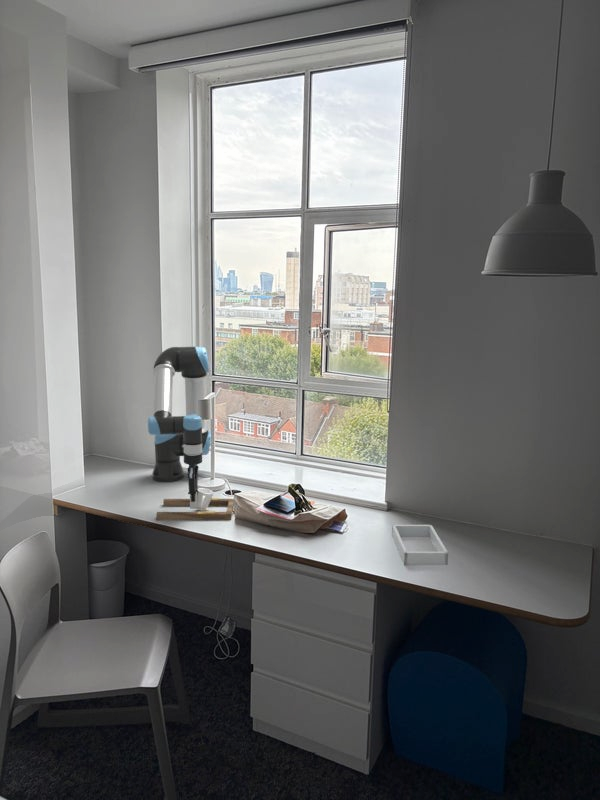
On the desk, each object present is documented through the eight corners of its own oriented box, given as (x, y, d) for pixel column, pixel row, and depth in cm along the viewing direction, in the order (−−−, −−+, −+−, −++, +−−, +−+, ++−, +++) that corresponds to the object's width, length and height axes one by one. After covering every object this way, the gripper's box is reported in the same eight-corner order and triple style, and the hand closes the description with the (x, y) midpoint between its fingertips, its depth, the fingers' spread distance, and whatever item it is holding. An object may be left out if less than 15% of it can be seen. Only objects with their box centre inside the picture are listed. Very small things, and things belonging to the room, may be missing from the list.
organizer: (391, 535, 233) (392, 524, 232) (430, 535, 233) (431, 524, 232) (404, 565, 209) (404, 553, 209) (447, 564, 210) (448, 552, 209)
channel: (164, 504, 263) (164, 498, 263) (234, 504, 264) (234, 498, 263) (156, 519, 246) (156, 513, 246) (231, 519, 247) (230, 513, 247)
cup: (210, 508, 261) (214, 490, 260) (207, 515, 251) (212, 497, 250) (193, 504, 260) (198, 486, 259) (191, 512, 250) (195, 493, 249)
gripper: (186, 449, 256) (187, 502, 260) (180, 457, 243) (181, 513, 248) (204, 449, 256) (204, 502, 261) (199, 457, 244) (200, 513, 248)
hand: (193, 508), depth 254 cm, fingers closed
